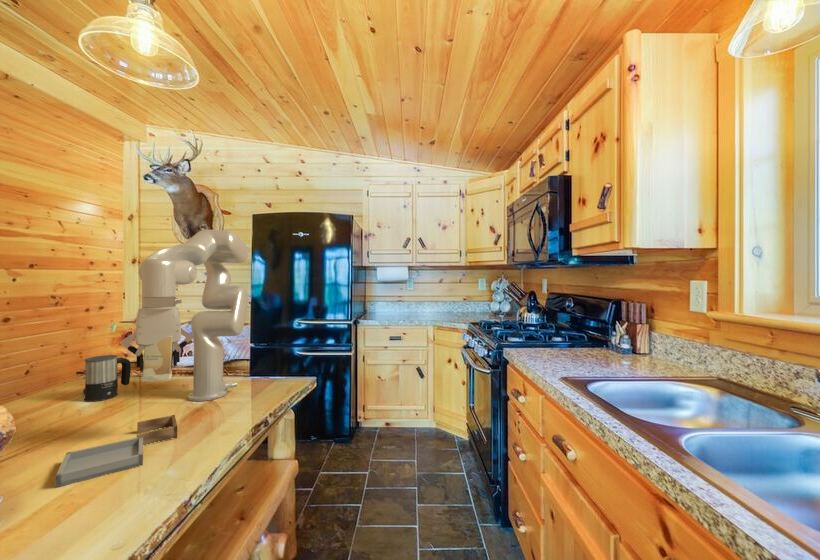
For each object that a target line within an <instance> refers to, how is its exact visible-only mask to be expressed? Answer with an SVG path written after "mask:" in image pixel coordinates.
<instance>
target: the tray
mask: <svg viewBox="0 0 820 560" xmlns="http://www.w3.org/2000/svg"><path fill="white" fill-rule="evenodd" d="M139 465H142V466H143V465H144V446H143V437H139V438H137V437H133V438H129V439H124V440H119V441H115V442H110V443H105V444H101V445H96V446H95V445H94V446H93V447H87V448H82V449H78V450H73V451H69V452H65V455H64V457H63V459H62V462H61V464H60V465H59V468H58V470H57V472H56V475H55V488H60V487H64V486H67V485H68V486H69V485H72V484H76V483H80V482H83V481H87V480H88V481H89V480H91V479H95V478H98V476H99V477H103V476H106V475H105V474H107V475H111V474H115V473H118V472H121V471H122V472H123V471H125V470H130V469H133V468H132V467H134V468H136V467H135V466H138V467H140V466H139ZM129 468H130V469H129ZM110 473H111V474H110ZM102 475H103V476H102ZM79 481H80V482H79ZM75 482H76V483H75Z"/></svg>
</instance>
